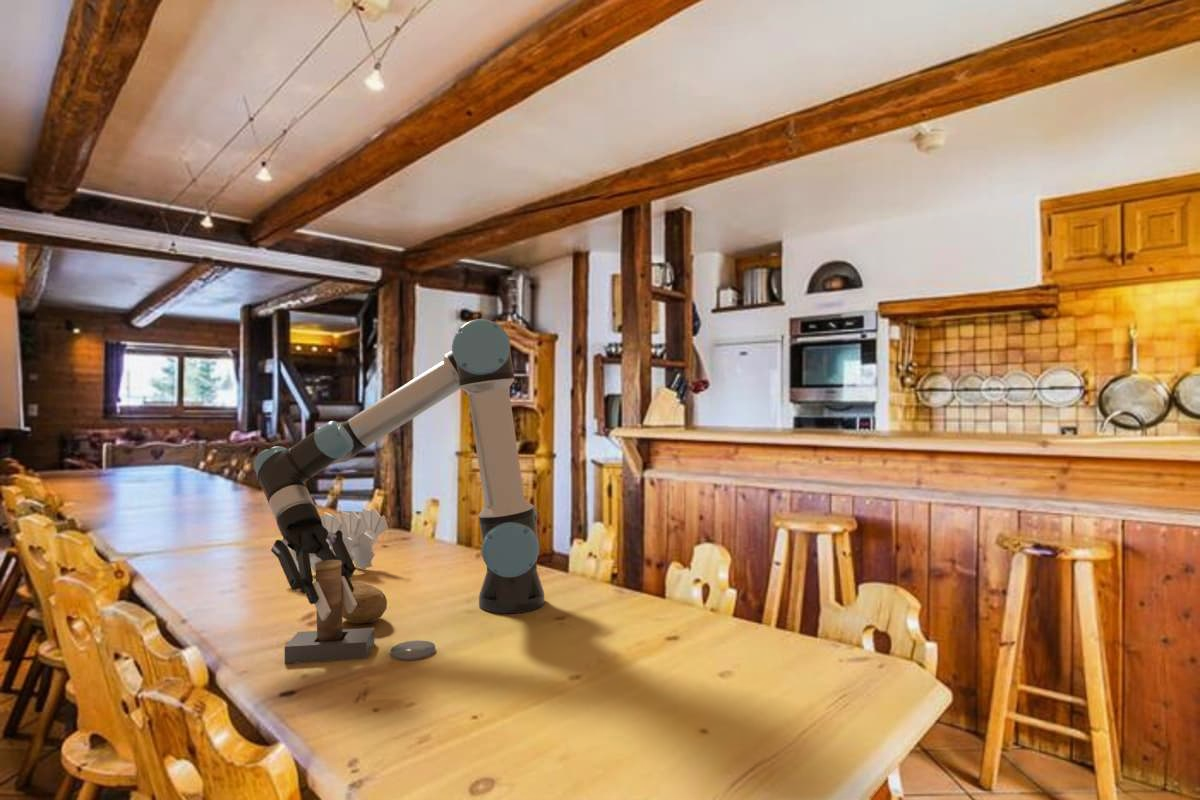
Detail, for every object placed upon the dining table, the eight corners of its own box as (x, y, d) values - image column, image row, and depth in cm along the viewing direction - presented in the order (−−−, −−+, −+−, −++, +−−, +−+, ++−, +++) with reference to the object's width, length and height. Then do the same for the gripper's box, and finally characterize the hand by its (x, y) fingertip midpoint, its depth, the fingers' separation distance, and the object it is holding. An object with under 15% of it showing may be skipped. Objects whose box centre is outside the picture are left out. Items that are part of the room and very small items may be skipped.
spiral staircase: (281, 597, 173) (367, 574, 193) (310, 578, 163) (397, 555, 183) (265, 531, 178) (350, 515, 198) (292, 509, 168) (379, 494, 187)
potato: (355, 635, 132) (355, 595, 132) (325, 620, 142) (325, 583, 142) (399, 624, 139) (399, 586, 139) (367, 610, 149) (368, 574, 149)
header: (374, 643, 127) (374, 627, 127) (366, 658, 119) (366, 642, 119) (297, 647, 125) (297, 631, 125) (284, 663, 117) (284, 646, 117)
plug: (344, 632, 125) (343, 558, 125) (341, 641, 121) (339, 564, 121) (319, 635, 124) (317, 560, 124) (314, 643, 120) (312, 566, 120)
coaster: (436, 643, 127) (436, 639, 127) (432, 658, 119) (432, 654, 119) (394, 645, 126) (394, 641, 126) (387, 661, 118) (387, 657, 118)
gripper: (330, 519, 139) (374, 612, 128) (243, 532, 125) (285, 637, 115) (343, 496, 136) (390, 590, 125) (256, 506, 122) (299, 612, 111)
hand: (339, 612), depth 120 cm, fingers closed on plug, 4 cm apart
